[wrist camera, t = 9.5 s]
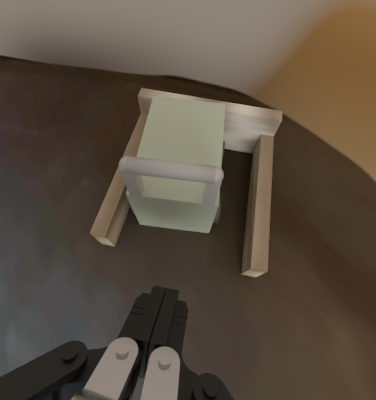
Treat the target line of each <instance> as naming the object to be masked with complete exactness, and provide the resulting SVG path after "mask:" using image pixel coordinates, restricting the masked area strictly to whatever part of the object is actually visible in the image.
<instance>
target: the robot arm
mask: <svg viewBox="0 0 376 400" xmlns="http://www.w3.org/2000/svg"><path fill="white" fill-rule="evenodd" d="M178 293H179V291H178V290H173V289H168V288H167V289H166V288H164V287H159V286H153V289H152V291H151V294H147V293H142V294H141V295H140V296H139V297H138V298H136V301H135V303H134V305H133V307H132V309H131V311H130V313H129V315H128V317H127V320H126V322H125V324H124V326H123V328H122V330H121V332H120V334H119V336H118V338H117V339H116V340H114V341H113V342H112V343H111V344H110V345H109V346H107V347H105V348H101V349H92V350H87V347H86V345H85V344H84V343H82V342H80V341H70V342H67V343H65V344H63V345H61V346H59V347H57V348H55V349H53V350H51V351H49V352H47V353H46V354H44V355H42V356H40V357H38V358H36V359H34V360H32V361H30V362H28V363H26V364H25V365H23V366H21V367H19V368H17V369H15V370H13V371H11V372H9V373H7V374H5V375H3V376H2V377H0V400H131V399H132V396H133V391H134V389H135V386H136V383H137V380H138V377H140V378H144V374H145V381H144V386H143V390H142V395H141V400H234V399H233V398H232V396H231V394H230V393H229V391H228V390H227V388H226V387H225V385H224V384H223V382H222V381H221V380H220V379H219V378H218V377H217V376H215V375H213V374H210V373H204V374H201V375H200V376H199V375H197V374H196V373H194V372H192V371H191V370H190V369H189V368H188V367H187V366H186V365H185V363H184V362H183V359H182V346H183V339H184V333H185V327H186V320H187V314H188V308H187V305H186V302H183V301H179V300H177V298H178ZM145 371H146V373H145Z"/></svg>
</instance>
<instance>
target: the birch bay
mask: <svg viewBox="0 0 376 400" xmlns="http://www.w3.org/2000/svg"><path fill="white" fill-rule="evenodd" d="M153 96H160V97H169V98H178V99H187V100H196V101H206V102H215V103H224V104H225V119H224V134H223V141H225V149H229V150H235V151H240V152H246V153H251V154H253V155H252V165H251V176H250V186H249V196H248V206H247V217H246V227H245V237H244V248H243V258H242V268H241V275H245V276H250V277H258V276H260V275H262V274H264V273H266V272H268V251H269V229H270V207H271V185H272V163H273V140H274V135H275V133H276V131H277V129H278V127H279V125H280V123H281V121H282V111H277V110H271V109H265V108H259V107H253V106H247V105H241V104H235V103H229V102H223V101H217V100H211V99H205V98H199V97H193V96H187V95H181V94H175V93H169V92H163V91H157V90H151V89H145V88H141V90H140V92H139V94H138V100H139V105H140V110H141V115H140V117H139V119H138V122H137V124H136V126H135V129H134V131H133V133H132V136H131V138H130V140H129V143H128V145H127V147H126V150H125V152H124V154H123V157H125V156H132V157H136V156H137V153H138V149H139V146H140V142H141V138H142V135H143V131H144V128H145V124H146V121H147V117H148V114H149V110H150V107H151V103H152V99H153ZM123 157H122V158H123ZM119 169H120V168H119V166H118V168H117V171H116V173H115V175H114V178H113V180H112V182H111V185H110V187H109V189H108V192H107V194H106V196H105V199H104V201H103V203H102V206H101V208H100V211H99V213H98V215H97V218H96V220H95V222H94V225H93V227H92V229H91V232H90V234H91V235H92V236H94V237H95V238H96V239H97V240H98V241H99V242H100V243H101V244H104V245H108V246H113V247H116V244H117V241H118V238H119V236H120V233H121V230H122V227H123V224H124V222H125V219H126V216H127V213H128V211H129V208H130V202H129V200H128V198H127V196H126V192H127V187H126V184H125V182H124V180H123V177H122V175H121V172H120V170H119Z"/></svg>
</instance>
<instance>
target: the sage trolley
mask: <svg viewBox="0 0 376 400" xmlns="http://www.w3.org/2000/svg"><path fill="white" fill-rule="evenodd" d="M224 119H225V104H224V103H215V102H206V101H196V100H187V99H178V98H169V97H160V96H153V99H152V103H151V107H150V110H149V114H148V117H147V121H146V124H145V128H144V131H143V135H142V138H141V142H140V146H139V149H138V153H137V156H136V157H132V156H125V157H123V158H121V160H120V161H119V168H120V169H119V170H120V172H121V175H122V177H123V180H124V182H125V184H126V187H127V192H126V196H127V198H128V200H129V202H130V205H131V211H132V213H135V215H136V218H137V220H138V222H139V224H140V225H147V226H155V227H163V228H171V229H179V230H187V231H195V232H203V233H209V232H210V229H211V226H212V224H213V223H218V222H219V218H220V212H221V197H219V195H220V185H221V182H222V180H223V177H224V173H223V170H222V169H221V165H222V161H223V156H224V149H225V141H223V134H224Z"/></svg>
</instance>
